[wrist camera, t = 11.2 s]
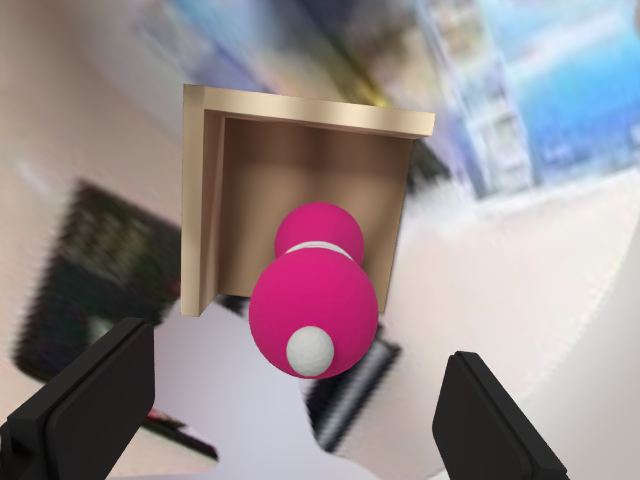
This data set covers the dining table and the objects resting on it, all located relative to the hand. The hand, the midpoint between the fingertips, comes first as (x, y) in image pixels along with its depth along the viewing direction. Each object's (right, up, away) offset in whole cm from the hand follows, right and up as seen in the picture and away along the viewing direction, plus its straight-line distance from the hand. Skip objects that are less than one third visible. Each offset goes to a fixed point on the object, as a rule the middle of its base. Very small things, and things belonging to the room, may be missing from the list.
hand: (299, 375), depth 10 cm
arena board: (-1, +7, +21) cm, 22 cm away
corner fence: (-1, +7, +21) cm, 22 cm away
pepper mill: (+1, +5, +21) cm, 21 cm away
